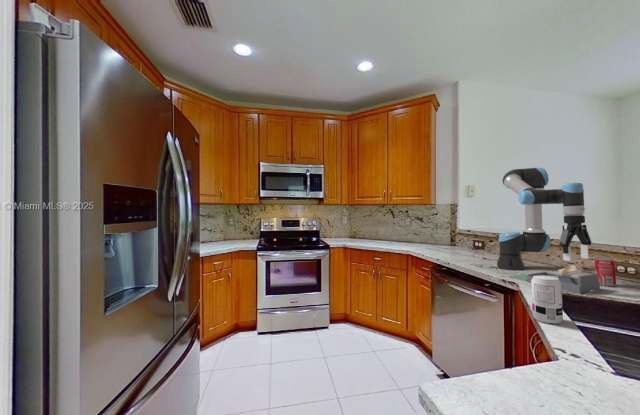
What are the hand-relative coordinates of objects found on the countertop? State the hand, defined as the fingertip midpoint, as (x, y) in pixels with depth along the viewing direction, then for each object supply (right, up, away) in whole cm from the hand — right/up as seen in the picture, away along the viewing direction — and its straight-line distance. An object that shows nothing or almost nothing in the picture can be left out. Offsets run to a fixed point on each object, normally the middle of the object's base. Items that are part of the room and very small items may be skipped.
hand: (576, 259), depth 133 cm
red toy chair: (+19, -14, +5) cm, 24 cm away
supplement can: (-43, -15, -35) cm, 58 cm away
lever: (-1, -10, +5) cm, 11 cm away
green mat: (-8, -15, +23) cm, 28 cm away
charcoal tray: (-2, -14, +6) cm, 16 cm away
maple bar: (0, -7, +2) cm, 7 cm away
